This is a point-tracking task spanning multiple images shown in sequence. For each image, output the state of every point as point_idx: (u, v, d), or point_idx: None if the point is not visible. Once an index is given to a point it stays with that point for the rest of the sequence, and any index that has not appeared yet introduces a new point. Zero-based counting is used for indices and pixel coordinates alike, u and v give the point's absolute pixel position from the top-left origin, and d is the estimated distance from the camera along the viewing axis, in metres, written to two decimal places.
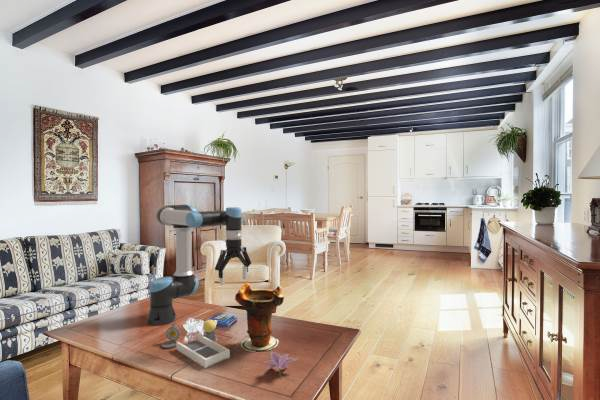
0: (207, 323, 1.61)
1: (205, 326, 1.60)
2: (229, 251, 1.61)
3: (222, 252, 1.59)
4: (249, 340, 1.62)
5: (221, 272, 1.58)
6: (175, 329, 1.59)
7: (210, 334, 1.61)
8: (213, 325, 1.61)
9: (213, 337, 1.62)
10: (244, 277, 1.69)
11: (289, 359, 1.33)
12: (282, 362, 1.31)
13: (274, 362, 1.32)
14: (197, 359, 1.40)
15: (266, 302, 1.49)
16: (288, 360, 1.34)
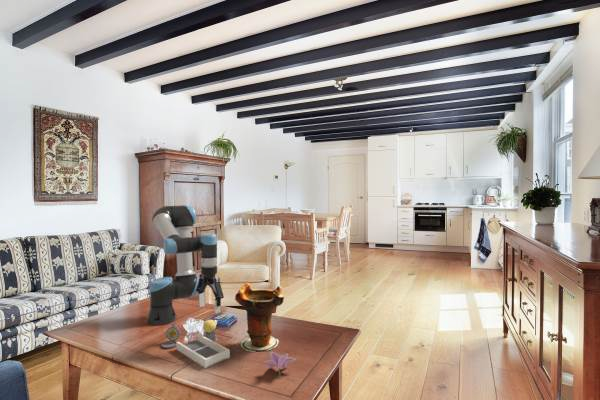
0: (207, 323, 1.61)
1: (205, 326, 1.60)
2: (203, 277, 1.63)
3: None
4: (249, 340, 1.62)
5: (199, 294, 1.67)
6: (175, 329, 1.59)
7: (210, 334, 1.61)
8: (213, 325, 1.61)
9: (213, 337, 1.62)
10: None
11: (288, 359, 1.34)
12: (282, 362, 1.32)
13: (274, 362, 1.32)
14: (197, 359, 1.40)
15: (266, 302, 1.49)
16: (287, 360, 1.34)
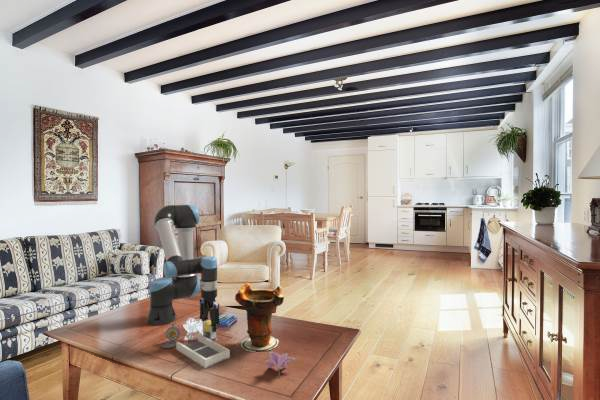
0: (207, 323, 1.61)
1: (205, 326, 1.60)
2: (203, 300, 1.64)
3: None
4: (249, 340, 1.62)
5: (203, 322, 1.65)
6: (175, 329, 1.59)
7: None
8: None
9: None
10: None
11: (288, 359, 1.34)
12: (281, 361, 1.32)
13: (273, 361, 1.32)
14: (197, 359, 1.40)
15: (266, 302, 1.49)
16: (287, 360, 1.34)
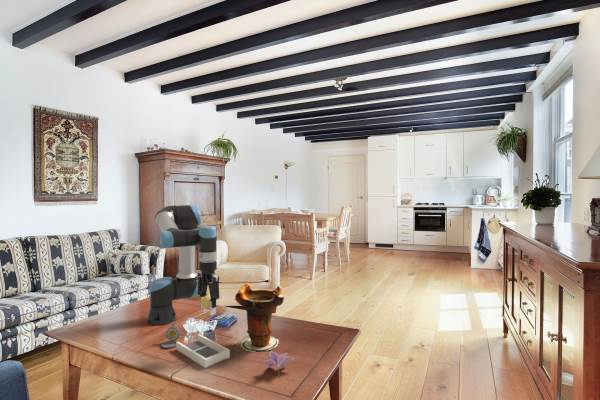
0: (206, 298, 1.47)
1: (204, 301, 1.46)
2: (201, 273, 1.50)
3: None
4: (249, 340, 1.62)
5: None
6: (175, 329, 1.59)
7: (210, 334, 1.61)
8: None
9: (213, 337, 1.62)
10: None
11: (287, 358, 1.34)
12: (281, 361, 1.32)
13: (273, 361, 1.32)
14: (197, 359, 1.40)
15: (266, 302, 1.49)
16: (286, 359, 1.34)
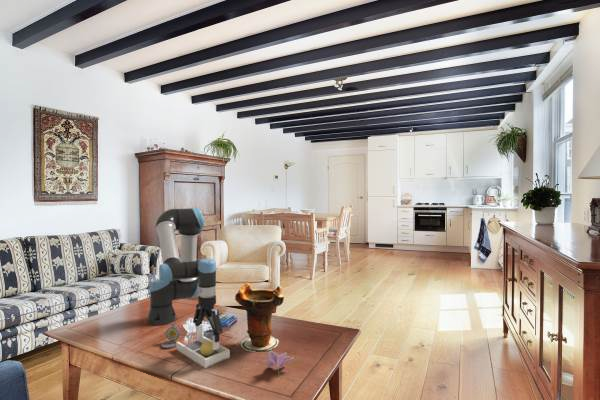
0: (205, 345, 1.44)
1: (203, 349, 1.43)
2: (200, 307, 1.47)
3: None
4: (249, 340, 1.62)
5: None
6: (175, 329, 1.59)
7: (210, 334, 1.61)
8: (211, 347, 1.44)
9: None
10: None
11: (287, 358, 1.35)
12: (280, 361, 1.32)
13: (272, 361, 1.33)
14: (197, 359, 1.40)
15: (266, 302, 1.49)
16: (285, 359, 1.35)
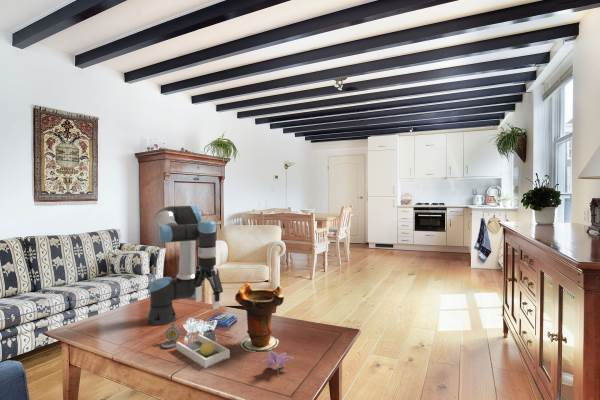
0: (205, 345, 1.44)
1: (203, 349, 1.43)
2: (200, 268, 1.47)
3: None
4: (249, 340, 1.62)
5: (196, 288, 1.50)
6: (175, 329, 1.59)
7: (210, 334, 1.61)
8: (211, 347, 1.44)
9: (213, 337, 1.62)
10: None
11: (286, 358, 1.35)
12: (280, 360, 1.33)
13: (272, 361, 1.33)
14: (197, 359, 1.40)
15: (266, 302, 1.49)
16: (285, 359, 1.35)
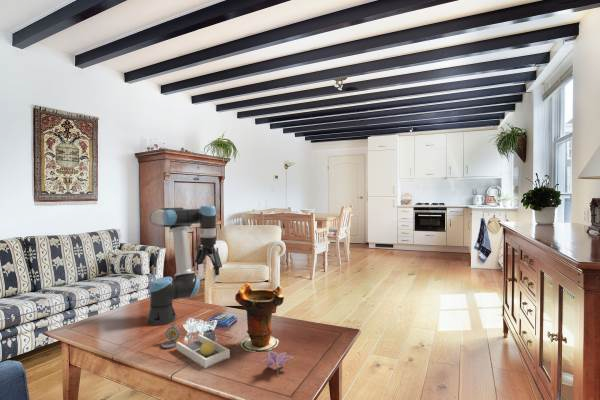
0: (205, 345, 1.44)
1: (202, 349, 1.43)
2: (202, 247, 1.67)
3: None
4: (249, 340, 1.62)
5: (198, 265, 1.71)
6: (175, 329, 1.59)
7: (210, 334, 1.61)
8: (211, 347, 1.44)
9: (213, 337, 1.62)
10: None
11: (286, 357, 1.35)
12: (279, 360, 1.33)
13: (271, 360, 1.33)
14: (197, 359, 1.40)
15: (266, 302, 1.49)
16: (285, 358, 1.35)
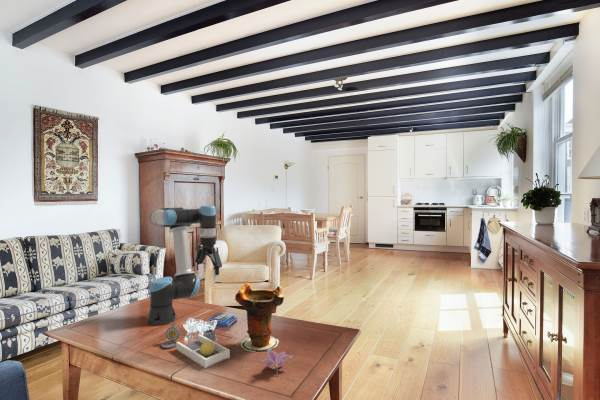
0: (205, 345, 1.44)
1: (202, 349, 1.43)
2: (202, 247, 1.67)
3: None
4: (249, 340, 1.62)
5: (198, 265, 1.71)
6: (175, 329, 1.59)
7: (210, 334, 1.61)
8: (211, 347, 1.44)
9: (213, 337, 1.62)
10: None
11: (285, 357, 1.35)
12: (279, 360, 1.33)
13: (271, 360, 1.33)
14: (197, 359, 1.40)
15: (266, 302, 1.49)
16: (284, 358, 1.35)
